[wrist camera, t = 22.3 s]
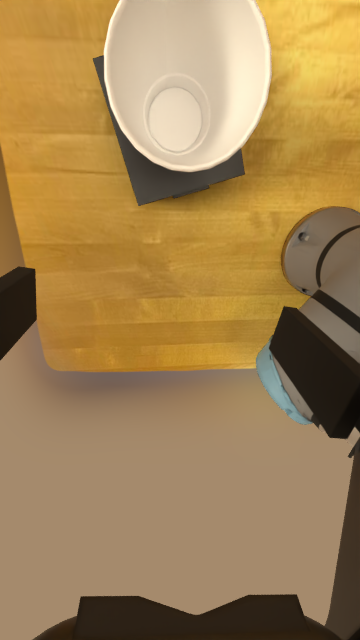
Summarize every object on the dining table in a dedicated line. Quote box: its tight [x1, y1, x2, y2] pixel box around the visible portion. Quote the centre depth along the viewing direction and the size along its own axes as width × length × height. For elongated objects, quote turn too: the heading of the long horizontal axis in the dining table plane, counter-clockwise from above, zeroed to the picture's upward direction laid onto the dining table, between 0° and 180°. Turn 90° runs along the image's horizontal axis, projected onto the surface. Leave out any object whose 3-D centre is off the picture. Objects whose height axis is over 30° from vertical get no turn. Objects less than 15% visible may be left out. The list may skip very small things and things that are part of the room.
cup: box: [104, 0, 272, 172], centre depth 27 cm, size 12×12×16 cm
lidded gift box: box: [93, 55, 245, 206], centre depth 38 cm, size 16×15×7 cm
